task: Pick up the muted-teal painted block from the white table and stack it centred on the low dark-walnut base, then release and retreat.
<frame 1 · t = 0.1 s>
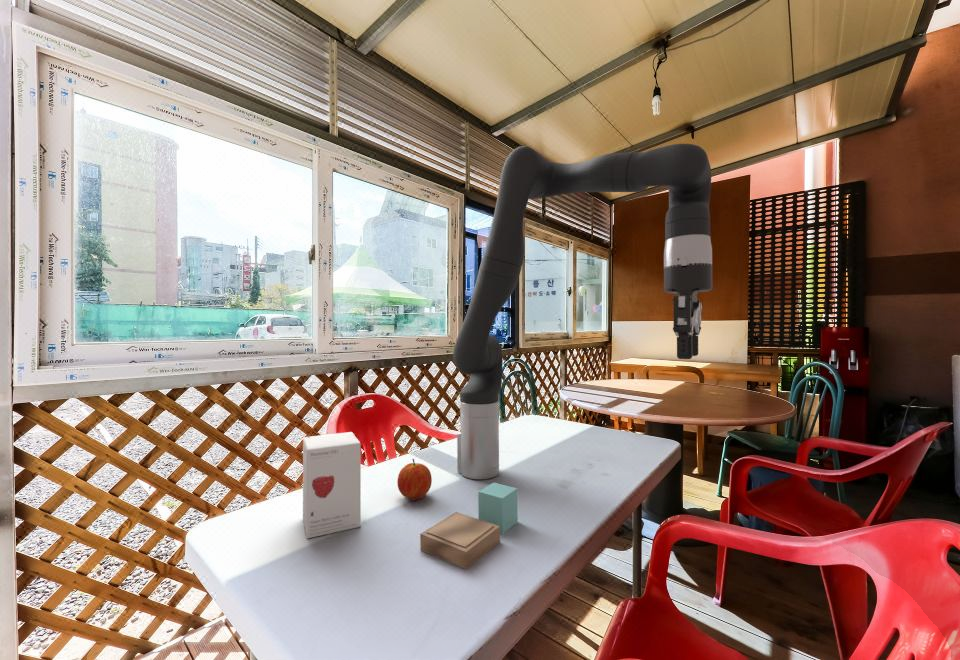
hand: (688, 357, 69), 29 cm above the table, fingers open, 8 cm apart
teal block: (498, 523, 70), on the table
fruit: (414, 498, 81), on the table
walnut base: (460, 545, 63), on the table
supplement box: (331, 523, 71), on the table
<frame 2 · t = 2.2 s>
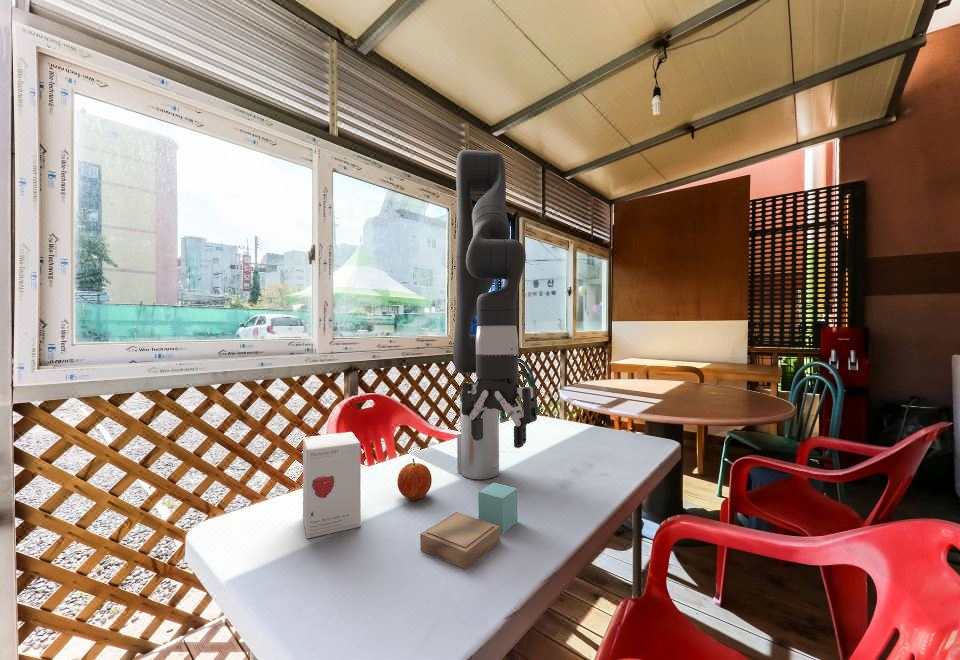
hand: (498, 443, 70), 14 cm above the table, fingers open, 8 cm apart
nothing on the table moved.
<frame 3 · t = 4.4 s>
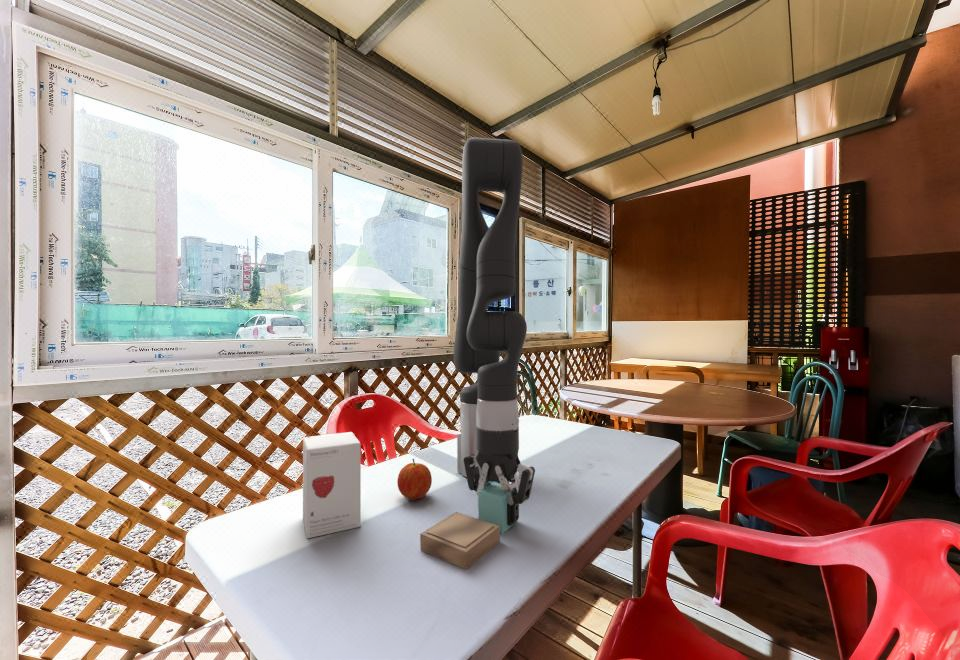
hand: (498, 519, 70), 1 cm above the table, fingers closed on teal block, 5 cm apart
teal block: (498, 523, 70), on the table, touching gripper
everything else where it was.
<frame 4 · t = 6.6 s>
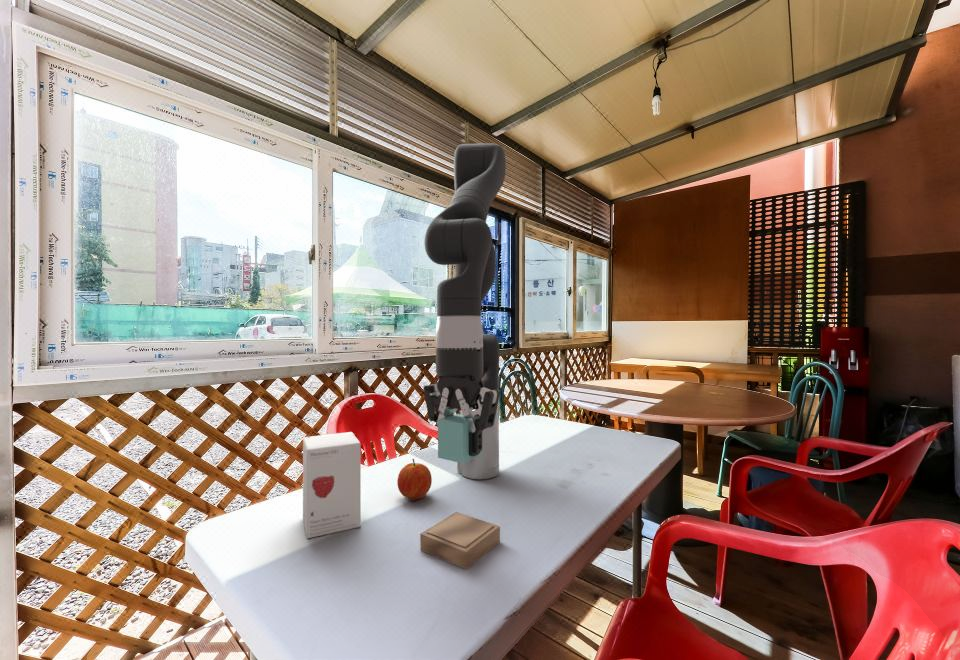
hand: (460, 451, 63), 15 cm above the table, fingers closed on teal block, 5 cm apart
teal block: (460, 456, 63), point 14 cm above the table, touching gripper
everything else where it was.
when the fingers open (4 cm above the table, at t = 9.3 s): teal block stays where it is, resting on walnut base.
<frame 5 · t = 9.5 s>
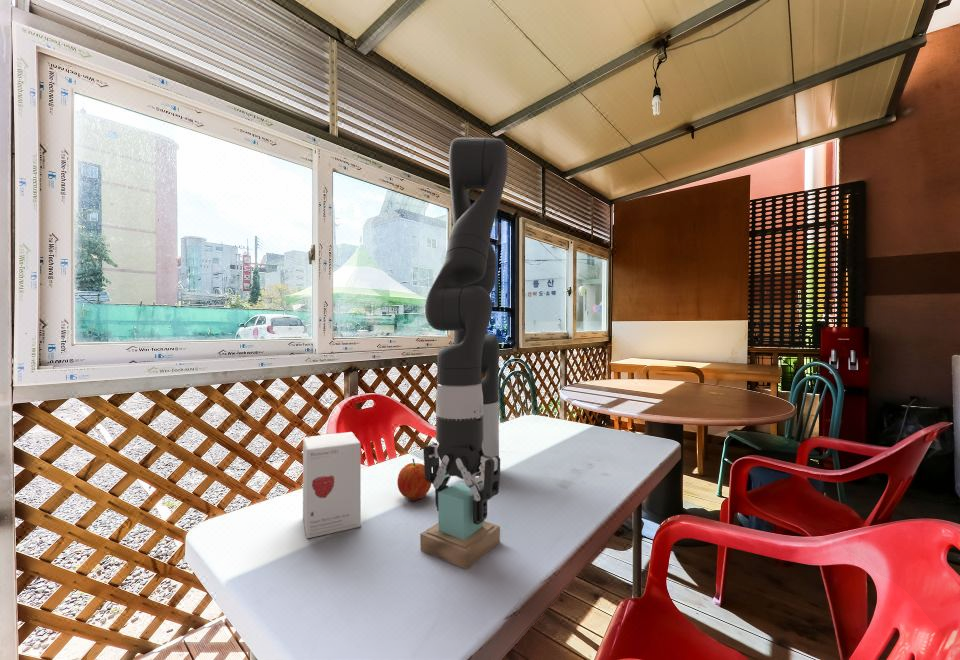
hand: (460, 515, 63), 5 cm above the table, fingers open, 6 cm apart
teal block: (460, 528, 63), point 3 cm above the table, touching walnut base
everything else where it was.
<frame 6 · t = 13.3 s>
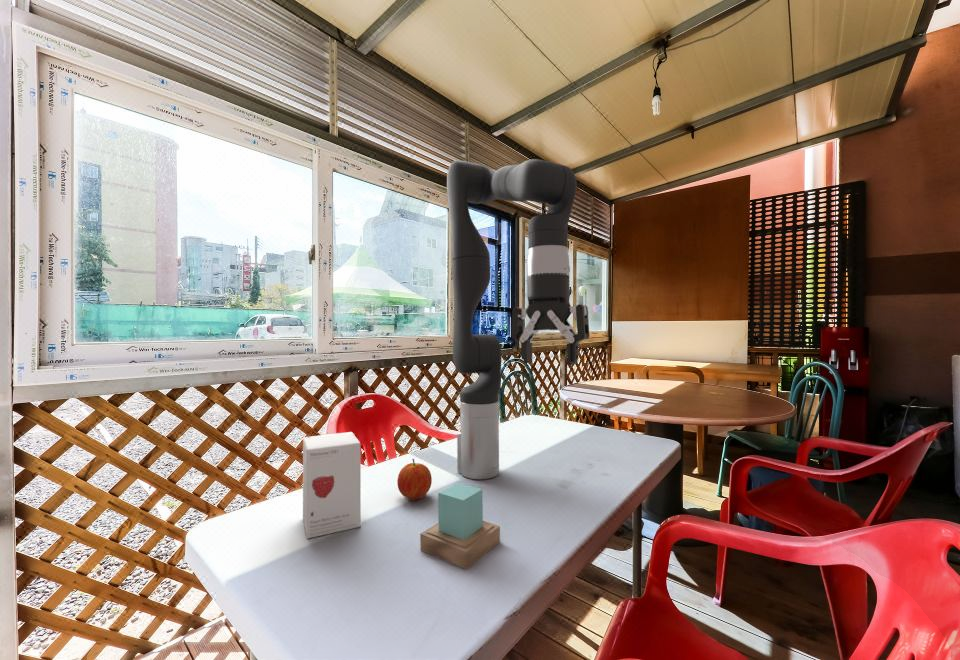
hand: (548, 363, 71), 28 cm above the table, fingers open, 8 cm apart
nothing on the table moved.
at the end: teal block 0.0 cm off-centre on the walnut base, point 2.7 cm above the walnut base's base; teal block tilted 0°; the gripper is holding nothing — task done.
